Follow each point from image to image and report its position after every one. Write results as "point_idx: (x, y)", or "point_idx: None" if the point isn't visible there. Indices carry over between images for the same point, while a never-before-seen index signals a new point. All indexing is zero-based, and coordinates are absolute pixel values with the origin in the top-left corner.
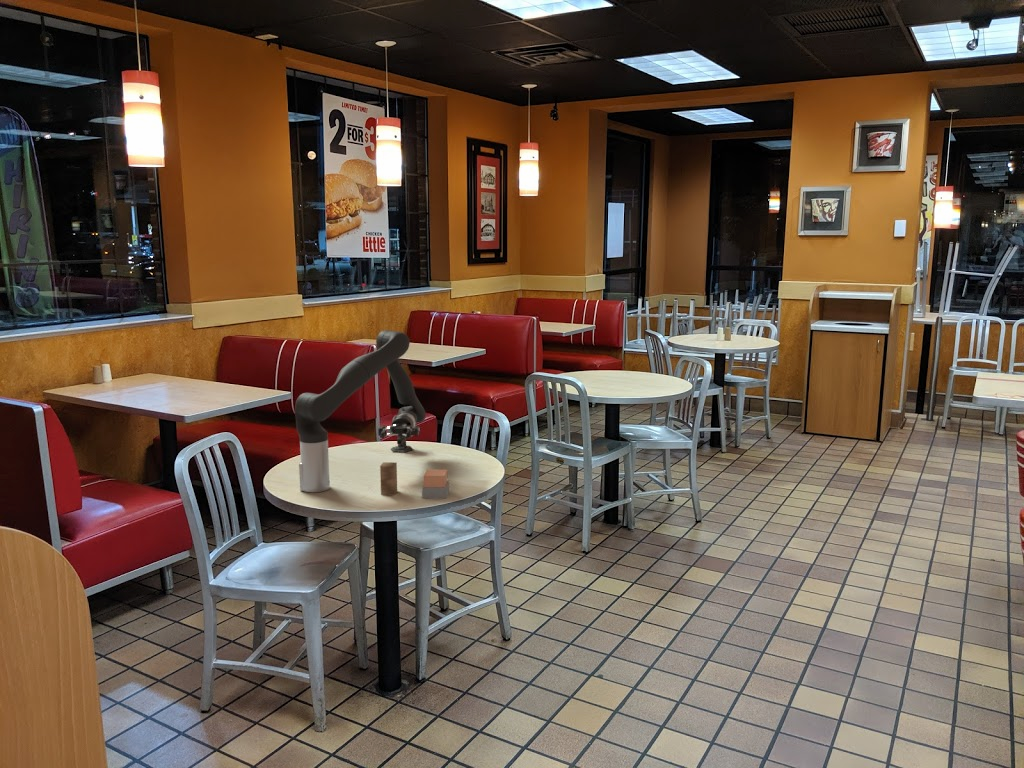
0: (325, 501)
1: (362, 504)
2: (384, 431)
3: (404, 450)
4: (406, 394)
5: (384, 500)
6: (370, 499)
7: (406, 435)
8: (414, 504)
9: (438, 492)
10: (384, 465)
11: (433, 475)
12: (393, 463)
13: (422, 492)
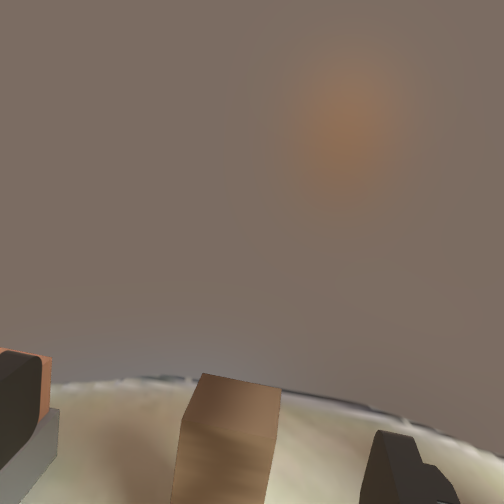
0: (482, 498)
1: (313, 443)
2: (397, 467)
3: None
4: None
5: None
6: (295, 483)
7: (37, 386)
8: (114, 408)
9: None
10: (258, 392)
11: (2, 348)
12: (203, 408)
13: (56, 431)
